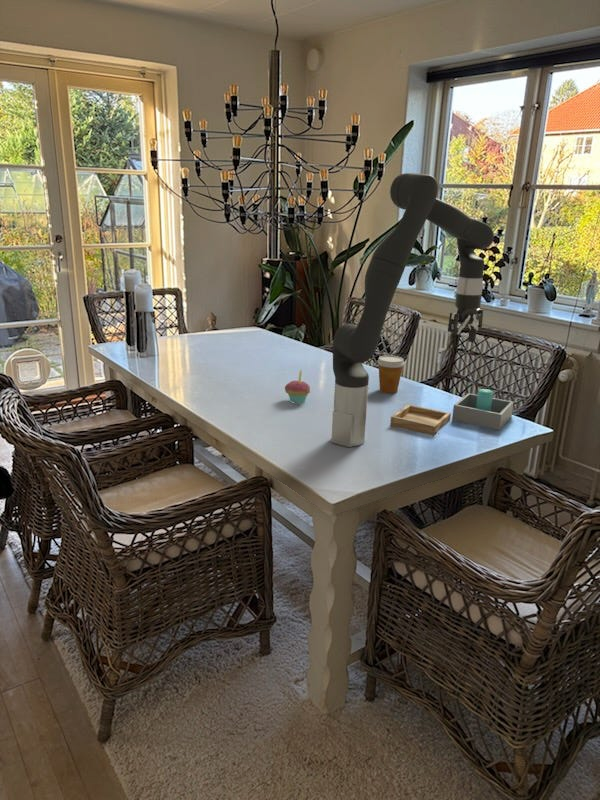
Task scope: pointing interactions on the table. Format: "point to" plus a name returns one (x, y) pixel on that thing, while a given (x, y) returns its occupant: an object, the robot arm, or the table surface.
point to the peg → (484, 399)
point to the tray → (420, 419)
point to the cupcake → (297, 390)
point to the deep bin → (482, 412)
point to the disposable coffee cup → (390, 373)
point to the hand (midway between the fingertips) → (463, 343)
